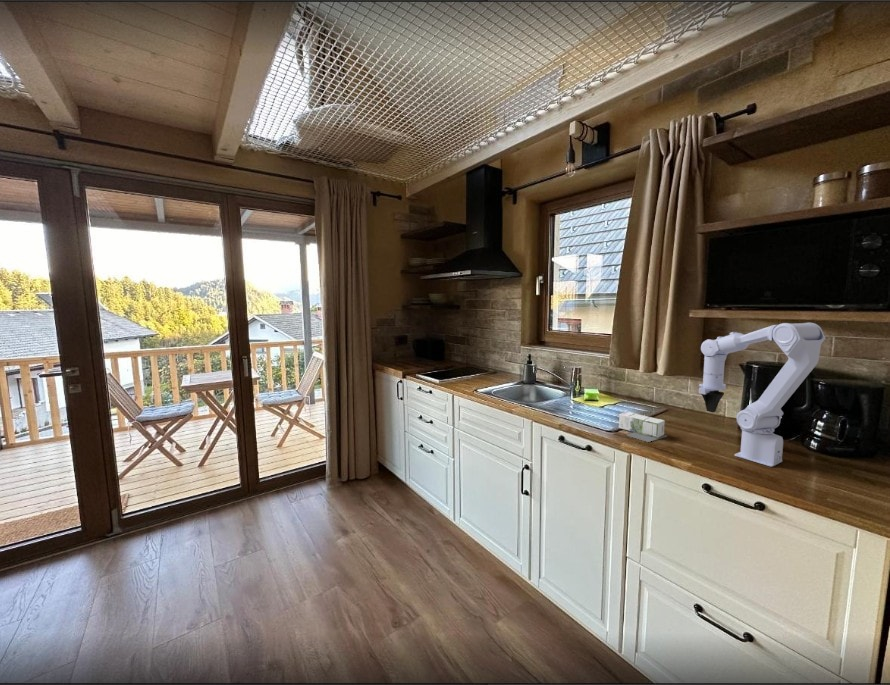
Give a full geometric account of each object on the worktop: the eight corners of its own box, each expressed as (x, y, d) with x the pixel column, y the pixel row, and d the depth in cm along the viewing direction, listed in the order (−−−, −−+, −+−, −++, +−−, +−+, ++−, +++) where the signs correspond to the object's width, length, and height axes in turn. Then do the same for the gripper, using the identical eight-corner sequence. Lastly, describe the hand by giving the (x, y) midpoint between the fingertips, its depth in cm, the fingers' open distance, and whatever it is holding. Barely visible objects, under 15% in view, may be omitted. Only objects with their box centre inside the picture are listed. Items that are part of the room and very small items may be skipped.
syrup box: (665, 419, 132) (626, 411, 144) (657, 423, 129) (618, 413, 140) (664, 435, 133) (625, 424, 144) (657, 438, 129) (617, 428, 141)
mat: (667, 436, 132) (667, 435, 132) (648, 442, 126) (648, 441, 126) (645, 429, 140) (645, 428, 140) (625, 435, 134) (625, 434, 134)
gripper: (711, 370, 133) (708, 405, 134) (690, 374, 126) (687, 411, 127) (733, 373, 127) (731, 410, 128) (713, 377, 120) (710, 417, 121)
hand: (711, 411), depth 127 cm, fingers closed
